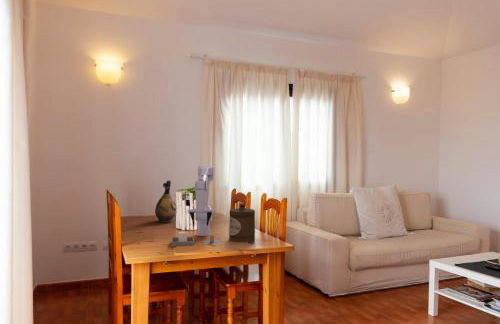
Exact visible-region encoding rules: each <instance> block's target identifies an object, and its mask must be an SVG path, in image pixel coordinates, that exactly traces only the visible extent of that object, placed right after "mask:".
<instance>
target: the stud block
mask: <svg viewBox="0 0 500 324" xmlns="http://www.w3.org/2000/svg"><path fill="white" fill-rule="evenodd" d="M201 241H202V244H203V246H216V245H218V246H220V245H223V244H222V242H221V241H222V240H220V239H215V235H214V234H210V235H209V239H202V240H201Z"/></svg>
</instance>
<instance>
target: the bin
mask: <svg viewBox="0 0 500 324" xmlns="http://www.w3.org/2000/svg"><path fill="white" fill-rule="evenodd" d="M170 238H171V241H170V244H171V245H170V247H171V248H172V249H174V248H173V247H175V248H176V246H195V239H194V236H187V241H185V242H179V236H177V237H176V236H175V237H174V236H173V237H172V236H171V237H170Z"/></svg>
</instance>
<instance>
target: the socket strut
mask: <svg viewBox="0 0 500 324" xmlns="http://www.w3.org/2000/svg"><path fill="white" fill-rule="evenodd" d="M178 237H179V241H178V242H185V241H188V240H187V237H188V233H187V231H178Z"/></svg>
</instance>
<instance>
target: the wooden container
mask: <svg viewBox="0 0 500 324" xmlns="http://www.w3.org/2000/svg"><path fill="white" fill-rule="evenodd" d="M255 215H256V211H255V209H253V208H246V204H245V203H244V202H243V203H240V204H239V207H238V208H231V209H229V226H228V227H229V228H228V229H229V230H228V231H229V232H228V234H229V237H228V239H229V241H231V242H236V243H248V244H253V243H255V242H256V241H255V240H256V220H255V219H256V218H255Z"/></svg>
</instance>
